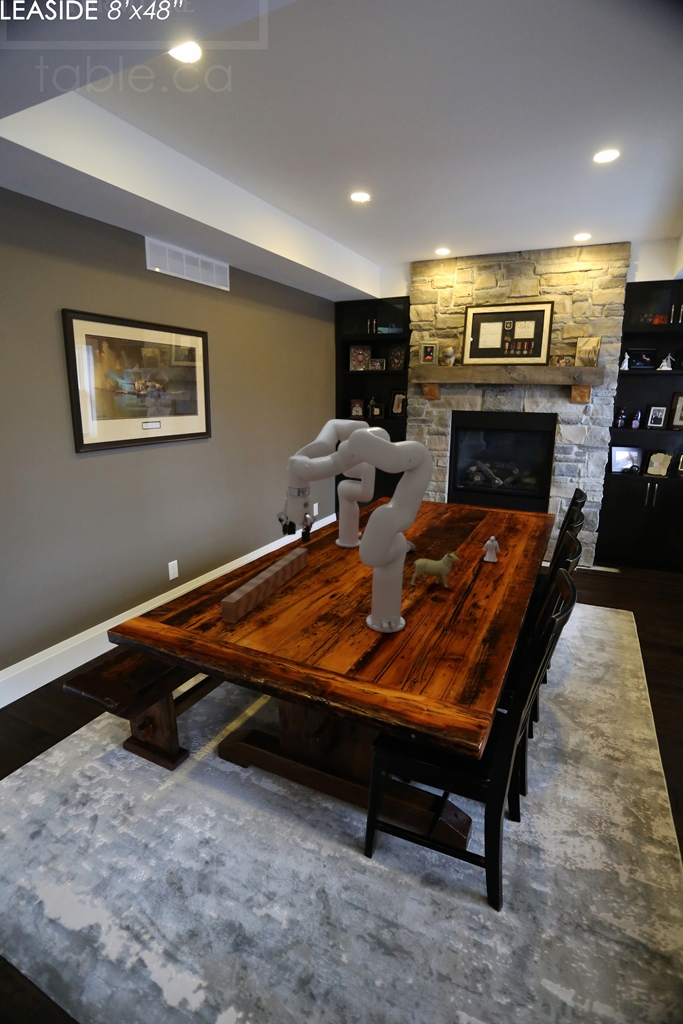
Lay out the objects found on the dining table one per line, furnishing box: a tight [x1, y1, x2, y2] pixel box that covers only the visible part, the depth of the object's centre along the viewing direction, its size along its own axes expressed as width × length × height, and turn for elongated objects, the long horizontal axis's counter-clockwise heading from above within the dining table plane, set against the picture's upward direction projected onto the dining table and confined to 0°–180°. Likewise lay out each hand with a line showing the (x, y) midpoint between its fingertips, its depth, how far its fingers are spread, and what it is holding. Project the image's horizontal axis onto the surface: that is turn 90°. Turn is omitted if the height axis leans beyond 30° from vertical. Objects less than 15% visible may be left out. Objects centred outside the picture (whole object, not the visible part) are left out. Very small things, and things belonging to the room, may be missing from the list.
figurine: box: [482, 535, 501, 563], centre depth 223 cm, size 8×8×12 cm
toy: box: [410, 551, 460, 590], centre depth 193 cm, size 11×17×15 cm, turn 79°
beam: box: [220, 547, 309, 624], centre depth 188 cm, size 59×4×7 cm, turn 160°
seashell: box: [406, 539, 417, 553], centre depth 234 cm, size 8×5×8 cm
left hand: (296, 535), depth 206 cm, fingers open, 9 cm apart
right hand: (298, 538), depth 179 cm, fingers open, 9 cm apart
